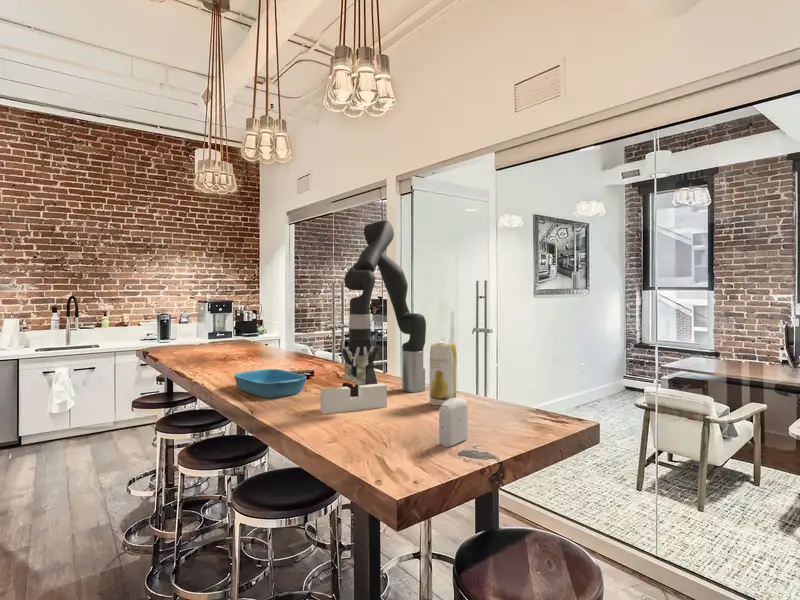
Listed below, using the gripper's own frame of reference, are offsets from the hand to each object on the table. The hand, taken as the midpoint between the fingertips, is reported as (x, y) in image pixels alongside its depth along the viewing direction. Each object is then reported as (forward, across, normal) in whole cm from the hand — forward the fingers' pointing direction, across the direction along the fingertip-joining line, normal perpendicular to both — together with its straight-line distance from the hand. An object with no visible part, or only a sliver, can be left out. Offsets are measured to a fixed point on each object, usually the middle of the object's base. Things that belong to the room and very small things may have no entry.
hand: (359, 376), depth 161 cm
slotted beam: (+13, 0, -5) cm, 14 cm away
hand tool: (+13, -7, -25) cm, 29 cm away
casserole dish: (+13, +22, -49) cm, 55 cm away
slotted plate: (+3, 0, -5) cm, 6 cm away
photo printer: (+13, -13, +41) cm, 45 cm away
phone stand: (+13, -17, -36) cm, 42 cm away
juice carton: (+13, -33, +2) cm, 36 cm away
